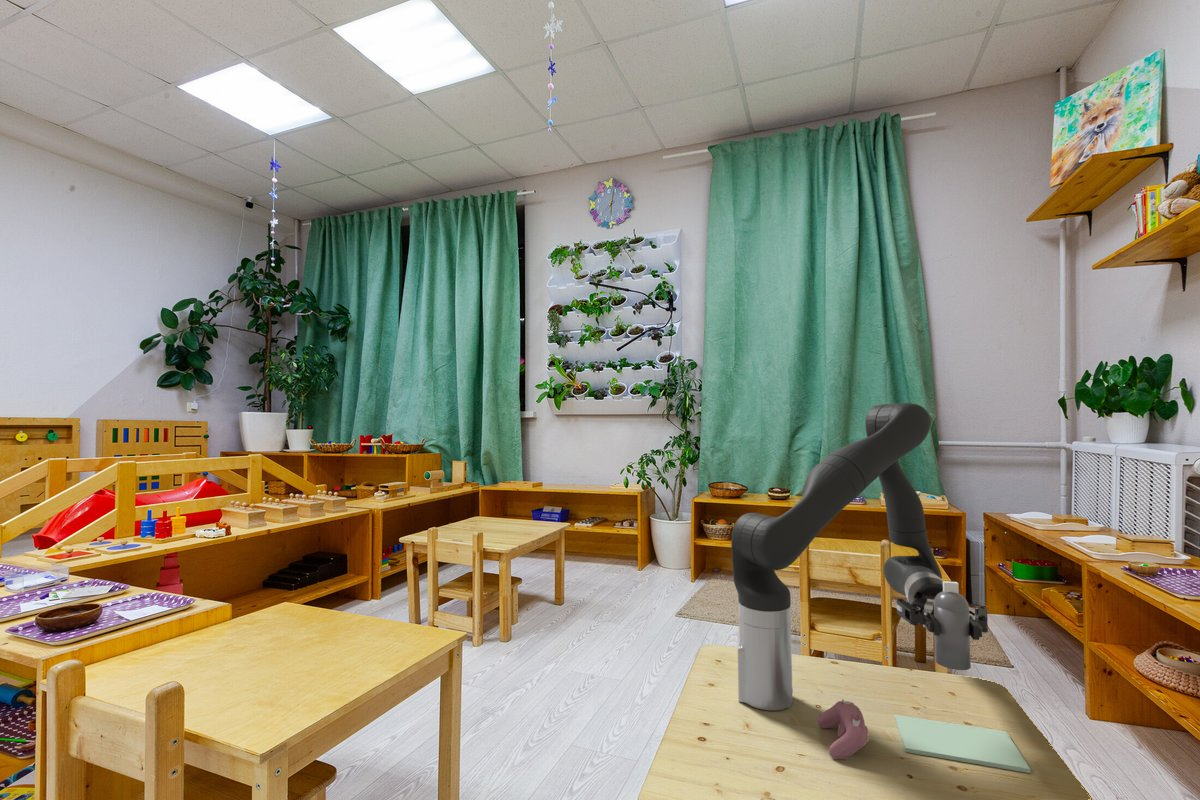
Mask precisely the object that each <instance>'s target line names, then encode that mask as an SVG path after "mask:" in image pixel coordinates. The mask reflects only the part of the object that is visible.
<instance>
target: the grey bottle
mask: <svg viewBox="0 0 1200 800" xmlns="http://www.w3.org/2000/svg"><path fill="white" fill-rule="evenodd" d="M959 585H960V584H959V583H958V582H957V581H946V580H943V591H942V592H940V593H939V594H937V595H936V597H935V599H934V617H935V618H936V619H937V620H938V622H939V636H935V635H933V636H934V661H935V662H936V664H938V665H940V666H941V667H943V668H945V669H946V668H947V669H949V670H956V671H967V670H970V669H971V667H972V664H971V663H972V662H971V660H972V659H971V636H970V621H969V609H970V606H969V603H968V601H967V599H966V598H965V597H964V596H963V595H962V594H960V592H959V591H960V590H959Z"/></svg>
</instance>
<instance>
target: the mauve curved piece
mask: <svg viewBox="0 0 1200 800" xmlns="http://www.w3.org/2000/svg"><path fill="white" fill-rule="evenodd" d="M865 722H866V721H865V719H864V715H863V712H862V710H861V709H860V707H858V706H857V705H856V704H855V703H854V702H851V701H848V700H846V701H845V700H844V699H841V700H840V701H837V702H835V704H833V705H832V706H831V707H830V708H828V709H827V710H825V711H823V712H822V713H821V714H819V716H818V718H817V724H818V726H819V727H820V728H821V729H833V728H835V727H837V726H838V728H837V735H838V736H839V738H838V739H836V740H835V741H834V742H833V743H832V744H831V745H830V747H829V750H828V752H829V753H828V754H829V756H830V757H831V758H832V759H834V760H844V759H847V758H849V757H851V756H853V755H854V754H856V753H857V752H858V751H859V750H860V749H862V748H864V746H865V745H866V744H867V743H868V742H869V729H868V727H867V725H866V723H865Z"/></svg>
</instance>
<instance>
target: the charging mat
mask: <svg viewBox="0 0 1200 800" xmlns="http://www.w3.org/2000/svg"><path fill="white" fill-rule="evenodd" d="M894 720H895V721H894V722H895V724H896V726H897V730H898V733H899V736H900V740H901V743H902V746H903V748H904V752H905V753H909V754H910V753H911V754H915V755H916V754H917V755H921V756H929V757H933V758H940V759H946V760H951V761H957V762H963V763H967V764H968V763H970V764H975V765H981V766H986V767H993V768H997V769H1004V770H1009V771H1013V772H1014V771H1016V772H1019V773H1020V772H1021V773H1028V774H1031V773H1032V772H1031V768H1030V766H1029V764H1028V763H1027V762H1026V761H1027V760H1025V758H1024V757H1023V755H1022V754H1021V752H1020V751H1019V749H1018V747H1017V745H1016V744H1015V743H1014V742H1013V741H1014V740H1012V738H1011V737H1010V735H1009V734H1008V732H1007V731H1005V730H999V729H992V728H985V727H979V726H973V725H966V724H959V723H952V722H945V721H939V720H934V719H927V718H920V717H913V716H906V715H900V714H894Z"/></svg>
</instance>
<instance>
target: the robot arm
mask: <svg viewBox="0 0 1200 800" xmlns="http://www.w3.org/2000/svg"><path fill="white" fill-rule="evenodd" d="M864 422H865V423H864V425H865V426H864V427H865V434H866V436H867V437H865V438H862V439H860V440H857V441H854V442H852V443H850V444H847V445H845V446H842V447H840V448H838V449H836V450H834V451H833V452H831V453H829V454H828V455H827V456H826V457H824V458H823V459H822V460H821V461H820V462H819V463H818V464H816V465H815V466H813V468H812V469H811V470H810V471H809V473H808V475H807V476H806V479H805V483H804V487H803V493H802V496H801V498H800V499H799V501H798V502H797V503H795V504H794V505H793V506H792V507H790V509H789V510H787V511H786V512H785V513H782V514H781V515H779V516H776V517H775V516H771V515H767V514H763V513H757V512H747V513H745V514H742V515H741V516H740V517H738V519H737V520H736V521H735V524H734V525H733V529H732V533H731V544H730V545H731V559H732V561H731V562H732V577H733V583H734V587H735V589H736V591H737V598H738V599H737V600H738V601H737V602H738V647H737V680H738V681H737V683H738V685H737V687H738V688H737V690H738V692H737V693H738V694H737V695H738V697H737V698H738V702H740V703H745V704H747V705H749V706H751V707H753V708H756V709H759V710H763V711H764V710H765V711H774V712H775V711H782V710H785V709H787V708H789V707H792V706H791V705H792V704H793V699H794V698H793V693H794V692H793V688H794V687H793V661H792V660H793V657H792V656H793V655H792V654H793V653H792V649H793V647H792V610H791V609H792V607H791V605H792V599H791V591H790V589H789V588H788V586H787V585H786V583H784V582H782V580H781V579H780V578H779V576H778V575H777V574H776V571H781V570H783V569H787V568H788V567H790V566H791V565H792V564H793V563H795V561H796V560H797V559H798V558H799V557H800V556H801V555H802V554H803V552H804V551H805V550H806V549H807V548H808V547H809V545H810V544H811V543H812V542H813V541H814V539H815V538H816V536H818V535H819V533H820V532H821V531H822V530H823V529H824V528H825V527H826V526H827V525H828V524H829V523H830V522H831V521H832V520H833V519H834V518H835V517H836V516H837V515H838V514H839V513H840V512H841V511H842V510H844V508H846V507H847V506H848V505H850V504H851V503H852V502H853V501H855V499H856V498H857V497H858V496H860V495H861V494H862V493H863V491H865V489H867V487H868V486H869V485H870V484H872V483H873V482H874V481H875V480H877V478H878V479H879V481H880V484H881V485H880V486H881V490H882V494H883V498H884V504H885V512H886V520H887V528H888V535H889V540H890V542H891V543H892V544H894V545H896V546H900V547H903V548H909V549H913V550H916V552H917V553H918V555H895V556H891V557H889V558H888V559H886V561H885V562H884V565H883V575H884V577H885V580H886V583H887V584H888V585H889V587H890V588H892V590H893V591H895V592H896V593H899V594H900V595H902V596H905V597H906V600H907V601H906V600H904V599H903V598H897V599H896V614H897V615H898V616H899V617H901V619H903V620H905V621H906V622H907V623H908V624H910V625H911V626H915V627H916V626H919V625H920V624H921V625H922V627H923V628H926V630H927V632H929V633H932V635H933V636H934V635H935V636H939V622H938V620H937V619H936V618H935V617H934V599H935V597H936V595H937V594H939V593H940V592H942V591H943V581H944V579H943V575H942V571H941V568H940V567H939V564H938V562H937V560H936V557H935V555H934V553H933V551H932V548H931V545H930V542H929V539H928V538H929V537H928V534H927V529H926V519H925V512H924V507H923V504H922V503H923V502H922V501H921V499H920V496H919V494H918V493H917V491H916V490H915V487H914V486H913V485H912V483H911V482H910V481H909V479H908V477H907V475H905V472H904V471H903V468H902V466H901V465H900V462H899V460H900V459H902V458H904V456H906V455H907V454H909V453H910V452H912V450H914V449H916V448H917V447H919V446H920V445H921V444H923V442H924V441H925V440H926V438H927V437H928V435H929V432H930V430H931V416H930V414H929V411H927V409H926V408H924V407H923V406H922V405H920V404H917V403H911V402H901V403H900V402H899V403H885V404H884V403H883V404H877V405H874V406H873V407H871V408H870V409H869V410H868V412H867V413H866V416H865V421H864ZM988 620H989V619H988V608H987V607H986V606H984V605H979V606H977V607H975V608H974V609H971V608H969V621H970V638H972V640H975V641H980V638H982V637H983V633H984V634H985V633H988V632H989V627H988ZM935 636H934V637H935Z"/></svg>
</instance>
